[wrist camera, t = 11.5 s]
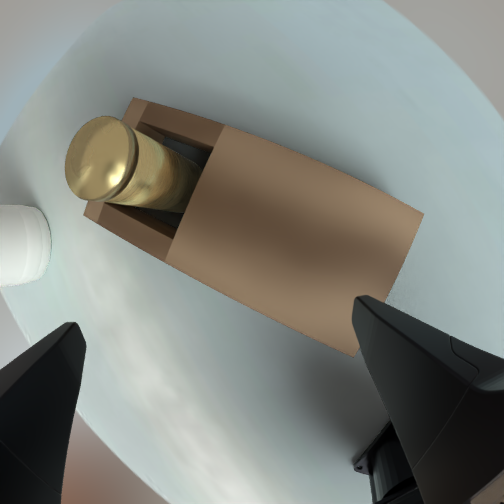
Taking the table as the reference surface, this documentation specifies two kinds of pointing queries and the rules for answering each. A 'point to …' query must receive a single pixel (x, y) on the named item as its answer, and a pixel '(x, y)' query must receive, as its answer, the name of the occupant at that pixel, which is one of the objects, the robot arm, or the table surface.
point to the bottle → (23, 245)
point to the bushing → (128, 168)
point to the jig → (271, 227)
